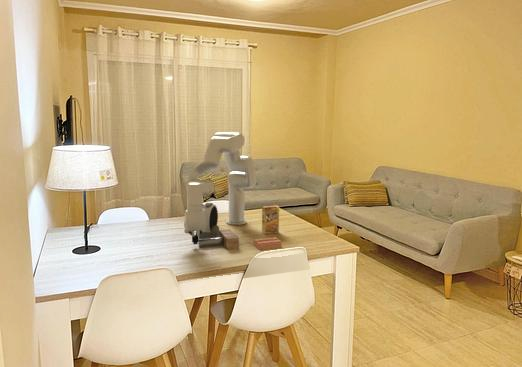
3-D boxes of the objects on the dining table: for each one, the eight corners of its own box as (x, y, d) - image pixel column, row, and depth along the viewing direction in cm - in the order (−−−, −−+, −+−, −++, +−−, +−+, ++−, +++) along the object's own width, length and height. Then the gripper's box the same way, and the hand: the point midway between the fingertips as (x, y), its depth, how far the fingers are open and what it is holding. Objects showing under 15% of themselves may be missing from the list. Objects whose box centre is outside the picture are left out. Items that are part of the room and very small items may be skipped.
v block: (253, 244, 205) (253, 238, 205) (274, 242, 209) (275, 236, 209) (259, 250, 197) (259, 244, 196) (281, 247, 201) (281, 241, 200)
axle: (200, 248, 198) (200, 241, 197) (198, 245, 202) (198, 238, 201) (238, 244, 205) (238, 237, 204) (236, 241, 209) (236, 234, 208)
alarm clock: (213, 240, 210) (213, 207, 207) (195, 239, 212) (194, 205, 209) (222, 232, 226) (222, 200, 222) (205, 230, 227) (205, 199, 224)
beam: (218, 239, 211) (218, 229, 210) (229, 238, 214) (229, 228, 213) (226, 249, 197) (226, 238, 196) (238, 248, 199) (238, 237, 198)
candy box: (263, 234, 223) (264, 207, 220) (261, 232, 227) (262, 205, 224) (278, 233, 225) (279, 206, 222) (276, 231, 229) (277, 204, 226)
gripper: (208, 205, 202) (208, 240, 205) (178, 206, 197) (179, 242, 200) (211, 208, 195) (211, 244, 198) (180, 210, 190) (181, 247, 193)
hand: (195, 243), depth 199 cm, fingers closed
